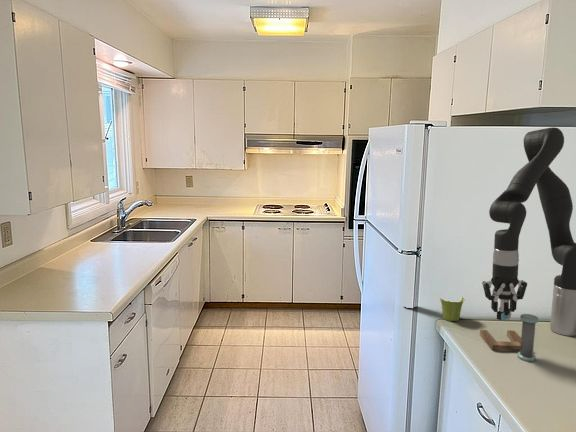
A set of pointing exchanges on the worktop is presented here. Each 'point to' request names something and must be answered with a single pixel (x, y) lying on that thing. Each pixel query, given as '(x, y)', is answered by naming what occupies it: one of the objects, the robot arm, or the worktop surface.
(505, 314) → the push button
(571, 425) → the worktop surface
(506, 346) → the notched board
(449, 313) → the plant pot
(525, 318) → the spool
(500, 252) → the robot arm
